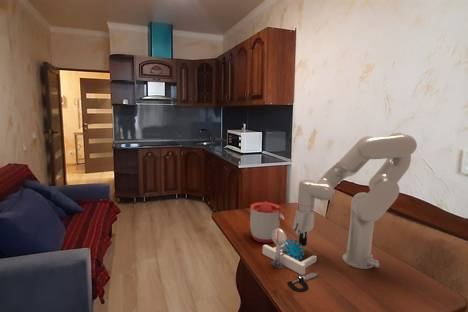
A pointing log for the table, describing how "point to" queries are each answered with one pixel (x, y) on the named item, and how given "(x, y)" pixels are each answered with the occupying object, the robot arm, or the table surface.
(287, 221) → the table surface
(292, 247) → the gear
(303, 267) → the white angled bar
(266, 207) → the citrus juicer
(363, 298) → the table surface
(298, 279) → the micrometer
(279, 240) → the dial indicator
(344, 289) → the table surface
